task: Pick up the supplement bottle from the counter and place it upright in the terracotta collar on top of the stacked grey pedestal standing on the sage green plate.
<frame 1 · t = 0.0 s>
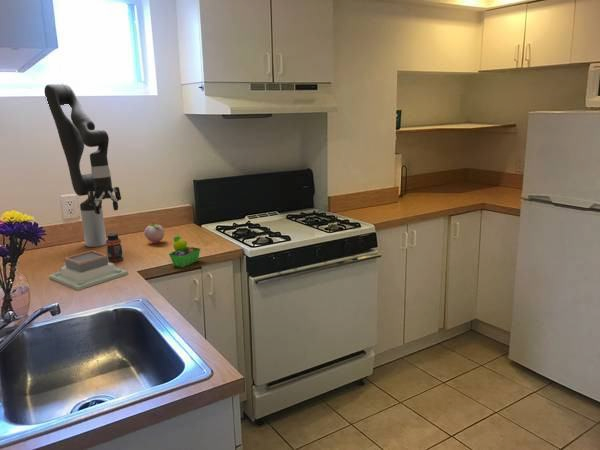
hand: (107, 212, 219), 17 cm above the worktop, tool pointing down, fingers open, 8 cm apart
stacked grey pedestal: (88, 276, 188), on the worktop
supplement bottle: (116, 260, 207), on the worktop
decorative fruit: (156, 243, 230), on the worktop
fruit basket: (184, 263, 200), on the worktop
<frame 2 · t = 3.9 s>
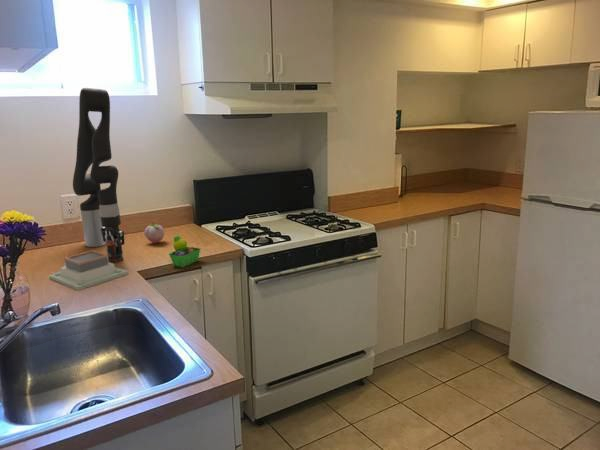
hand: (115, 253, 206), 3 cm above the worktop, tool pointing down, fingers closed on supplement bottle, 6 cm apart
supplement bottle: (116, 260, 207), on the worktop, touching gripper
everything else where it was.
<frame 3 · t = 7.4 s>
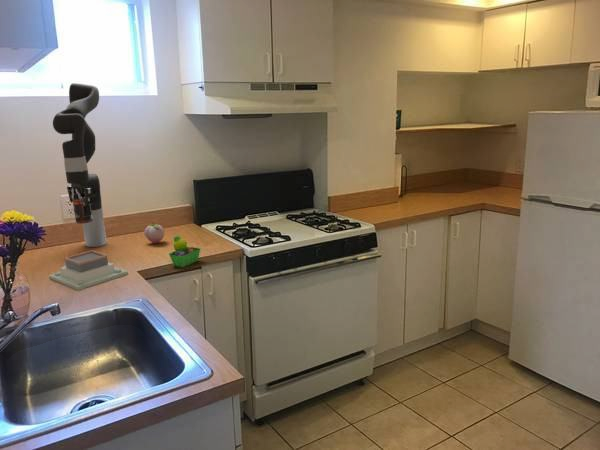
hand: (83, 214, 183), 24 cm above the worktop, tool pointing down, fingers closed on supplement bottle, 6 cm apart
supplement bottle: (84, 222, 184), point 21 cm above the worktop, touching gripper
everything else where it was.
when the fingers open (12 cm above the worktop, at t = 10.9 s): supplement bottle drops 2 cm, resting on stacked grey pedestal.
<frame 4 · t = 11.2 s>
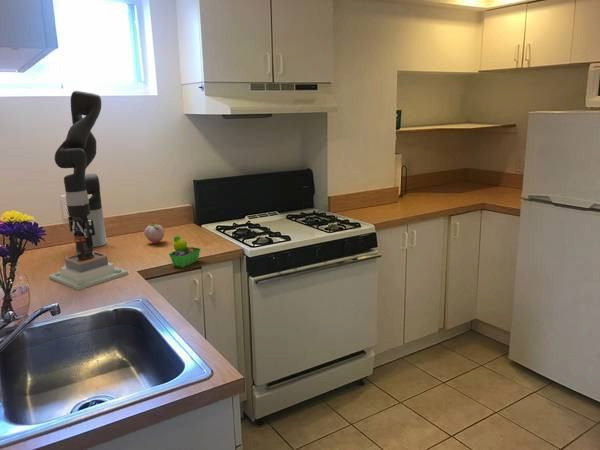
hand: (84, 244, 185), 13 cm above the worktop, tool pointing down, fingers open, 8 cm apart
supplement bottle: (86, 258, 187), point 7 cm above the worktop, touching stacked grey pedestal
everything else where it was.
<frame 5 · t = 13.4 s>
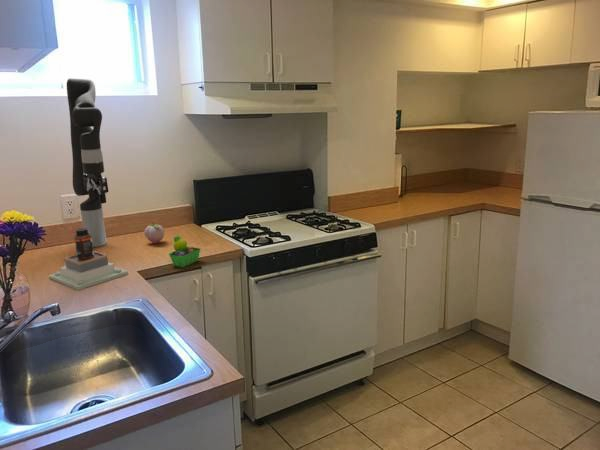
hand: (97, 201, 193), 27 cm above the worktop, tool pointing down, fingers open, 8 cm apart
nothing on the worktop moved.
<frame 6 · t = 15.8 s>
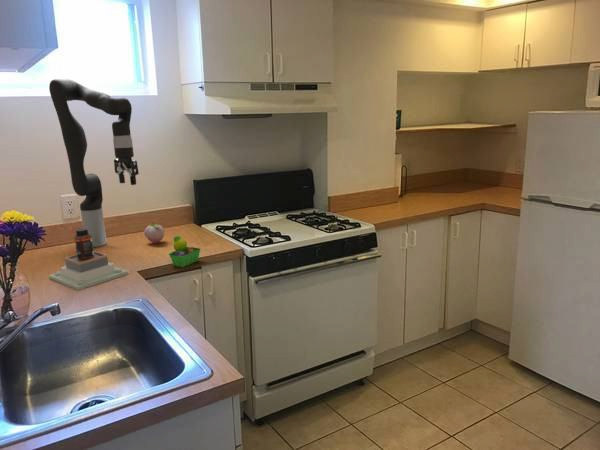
hand: (128, 183, 212), 30 cm above the worktop, tool pointing down, fingers open, 8 cm apart
nothing on the worktop moved.
at the end: supplement bottle 0.2 cm off-centre on the stacked grey pedestal, point 7.0 cm above the stacked grey pedestal's base; supplement bottle tilted 0°; the gripper is holding nothing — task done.
